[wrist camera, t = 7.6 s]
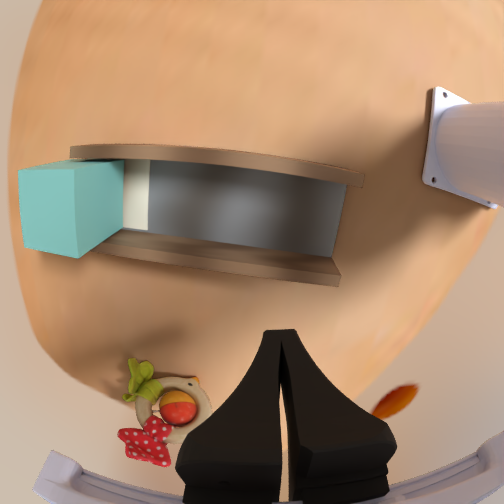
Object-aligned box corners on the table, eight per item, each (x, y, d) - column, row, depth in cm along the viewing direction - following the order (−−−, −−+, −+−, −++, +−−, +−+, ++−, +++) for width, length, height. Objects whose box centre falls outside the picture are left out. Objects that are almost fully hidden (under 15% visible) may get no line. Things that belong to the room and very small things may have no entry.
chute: (347, 169, 18) (364, 174, 15) (327, 264, 21) (338, 286, 17) (92, 144, 18) (65, 146, 15) (91, 232, 20) (67, 247, 17)
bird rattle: (196, 343, 27) (107, 351, 23) (231, 435, 17) (110, 450, 14) (198, 383, 29) (120, 391, 26) (229, 465, 19) (131, 479, 16)
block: (124, 159, 17) (74, 169, 12) (123, 227, 19) (78, 258, 14) (71, 159, 17) (18, 170, 12) (72, 221, 19) (24, 247, 14)
